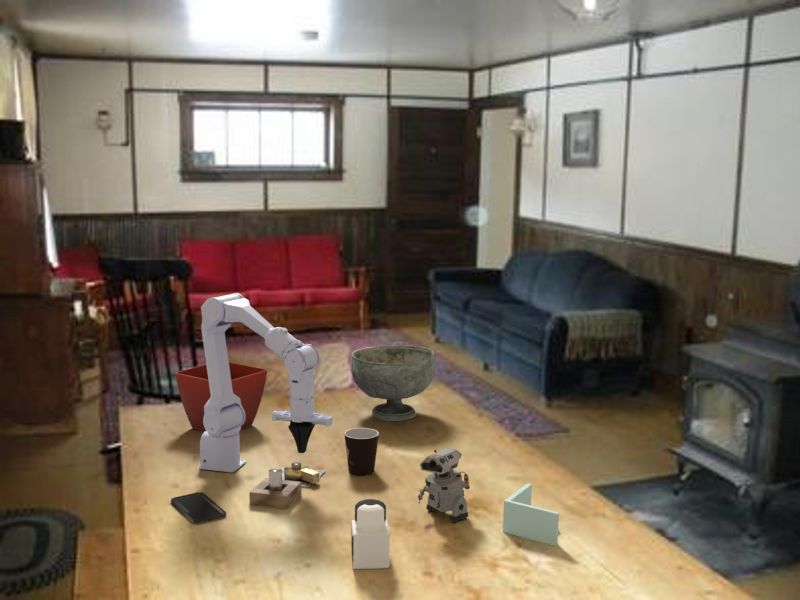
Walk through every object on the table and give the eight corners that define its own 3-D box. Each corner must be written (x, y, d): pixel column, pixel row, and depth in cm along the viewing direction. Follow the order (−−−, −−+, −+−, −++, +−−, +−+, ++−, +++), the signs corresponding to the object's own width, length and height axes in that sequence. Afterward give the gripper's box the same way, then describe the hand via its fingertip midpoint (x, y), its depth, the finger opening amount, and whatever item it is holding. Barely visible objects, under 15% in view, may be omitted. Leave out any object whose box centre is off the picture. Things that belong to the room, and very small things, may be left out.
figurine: (407, 517, 188) (408, 452, 186) (444, 504, 196) (446, 441, 193) (436, 531, 181) (437, 463, 179) (473, 516, 189) (475, 451, 187)
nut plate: (266, 483, 207) (266, 481, 207) (284, 467, 217) (284, 466, 217) (309, 488, 204) (309, 486, 204) (325, 471, 215) (325, 470, 215)
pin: (267, 501, 196) (266, 472, 195) (272, 496, 199) (271, 467, 198) (279, 502, 195) (279, 473, 194) (284, 497, 198) (284, 468, 197)
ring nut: (307, 485, 204) (307, 474, 203) (279, 475, 210) (278, 464, 210) (325, 478, 208) (325, 467, 208) (297, 468, 215) (297, 457, 214)
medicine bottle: (351, 552, 171) (351, 496, 169) (387, 552, 172) (387, 495, 170) (352, 570, 164) (352, 510, 162) (389, 568, 165) (390, 509, 163)
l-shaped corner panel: (555, 548, 176) (557, 514, 174) (502, 534, 182) (503, 500, 181) (577, 528, 186) (578, 495, 184) (526, 515, 192) (527, 483, 191)
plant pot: (269, 424, 252) (269, 368, 249) (223, 442, 236) (222, 382, 233) (222, 413, 262) (220, 359, 259) (174, 429, 246) (173, 372, 243)
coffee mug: (374, 479, 210) (374, 440, 209) (340, 476, 212) (340, 437, 210) (384, 462, 222) (384, 425, 220) (352, 460, 223) (352, 423, 222)
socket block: (249, 504, 194) (249, 492, 194) (265, 489, 203) (265, 477, 202) (286, 509, 192) (286, 496, 191) (301, 494, 200) (301, 481, 200)
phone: (202, 491, 199) (227, 513, 187) (202, 495, 200) (227, 518, 187) (169, 498, 195) (193, 521, 183) (169, 503, 195) (193, 526, 183)
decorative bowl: (436, 427, 249) (436, 360, 246) (348, 428, 249) (347, 360, 247) (434, 405, 275) (434, 343, 273) (354, 405, 276) (353, 344, 273)
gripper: (266, 398, 200) (267, 454, 202) (325, 404, 196) (325, 460, 199) (278, 390, 207) (278, 444, 209) (335, 395, 203) (335, 450, 205)
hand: (302, 451), depth 204 cm, fingers closed
